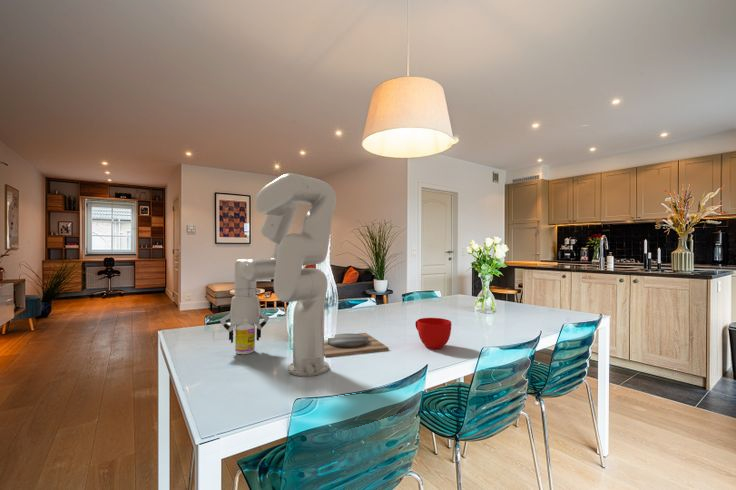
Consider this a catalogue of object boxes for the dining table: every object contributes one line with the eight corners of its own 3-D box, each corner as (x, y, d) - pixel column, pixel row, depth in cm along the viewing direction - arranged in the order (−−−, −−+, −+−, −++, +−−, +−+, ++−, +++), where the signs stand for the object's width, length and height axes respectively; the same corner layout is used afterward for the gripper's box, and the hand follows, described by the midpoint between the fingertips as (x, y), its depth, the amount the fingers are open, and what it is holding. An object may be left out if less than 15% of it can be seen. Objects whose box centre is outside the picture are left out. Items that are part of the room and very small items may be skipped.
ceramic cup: (427, 338, 147) (427, 314, 147) (458, 348, 133) (458, 322, 133) (403, 343, 140) (403, 318, 140) (433, 354, 126) (433, 326, 126)
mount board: (388, 350, 130) (388, 343, 130) (325, 357, 121) (325, 350, 121) (365, 335, 152) (365, 329, 152) (311, 340, 144) (311, 334, 144)
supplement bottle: (248, 355, 123) (248, 319, 123) (231, 354, 124) (231, 318, 124) (258, 350, 129) (258, 315, 130) (241, 348, 131) (242, 314, 131)
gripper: (269, 290, 134) (268, 336, 134) (219, 292, 127) (219, 340, 127) (271, 293, 127) (270, 341, 127) (219, 295, 120) (218, 345, 120)
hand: (245, 340), depth 127 cm, fingers open, 8 cm apart
